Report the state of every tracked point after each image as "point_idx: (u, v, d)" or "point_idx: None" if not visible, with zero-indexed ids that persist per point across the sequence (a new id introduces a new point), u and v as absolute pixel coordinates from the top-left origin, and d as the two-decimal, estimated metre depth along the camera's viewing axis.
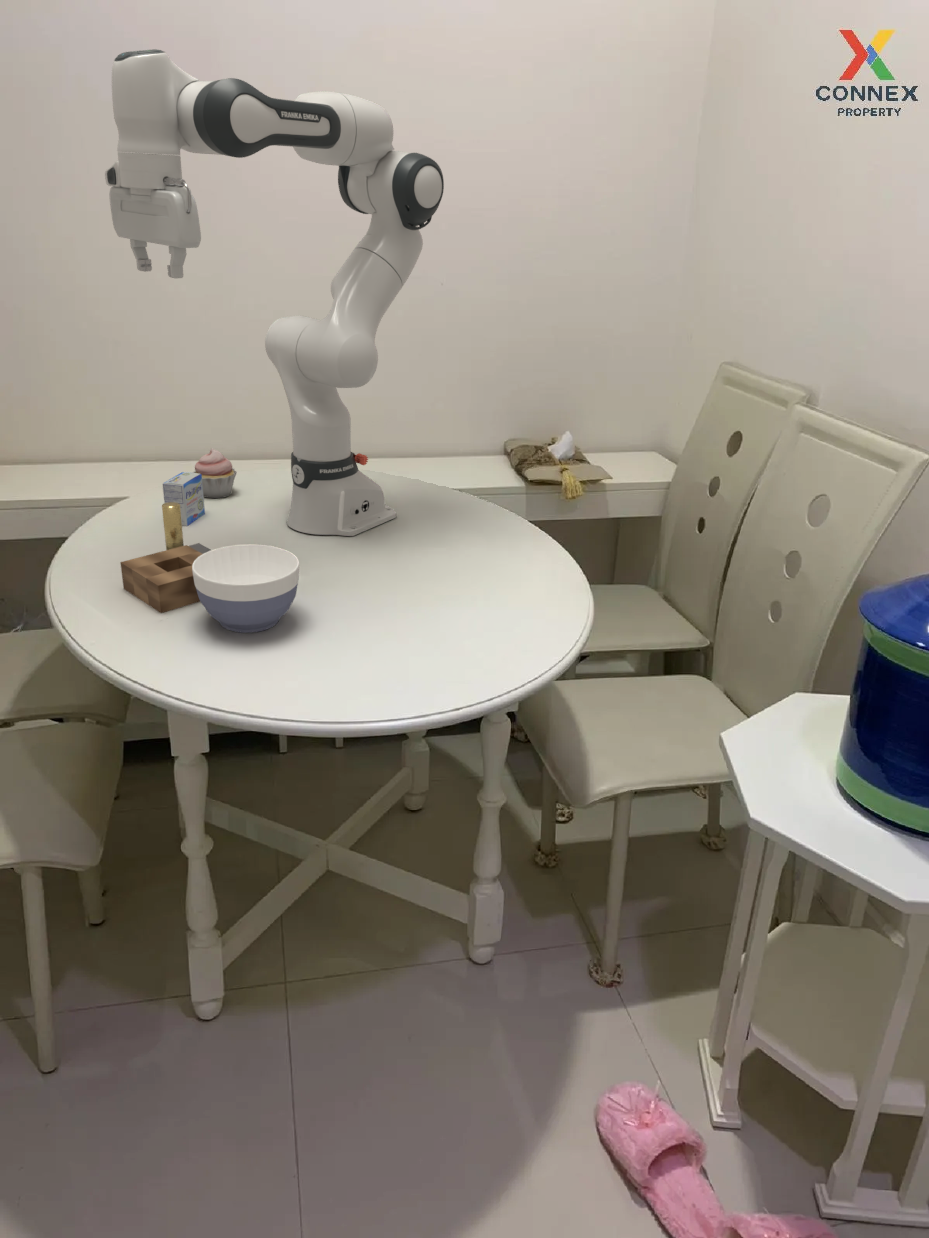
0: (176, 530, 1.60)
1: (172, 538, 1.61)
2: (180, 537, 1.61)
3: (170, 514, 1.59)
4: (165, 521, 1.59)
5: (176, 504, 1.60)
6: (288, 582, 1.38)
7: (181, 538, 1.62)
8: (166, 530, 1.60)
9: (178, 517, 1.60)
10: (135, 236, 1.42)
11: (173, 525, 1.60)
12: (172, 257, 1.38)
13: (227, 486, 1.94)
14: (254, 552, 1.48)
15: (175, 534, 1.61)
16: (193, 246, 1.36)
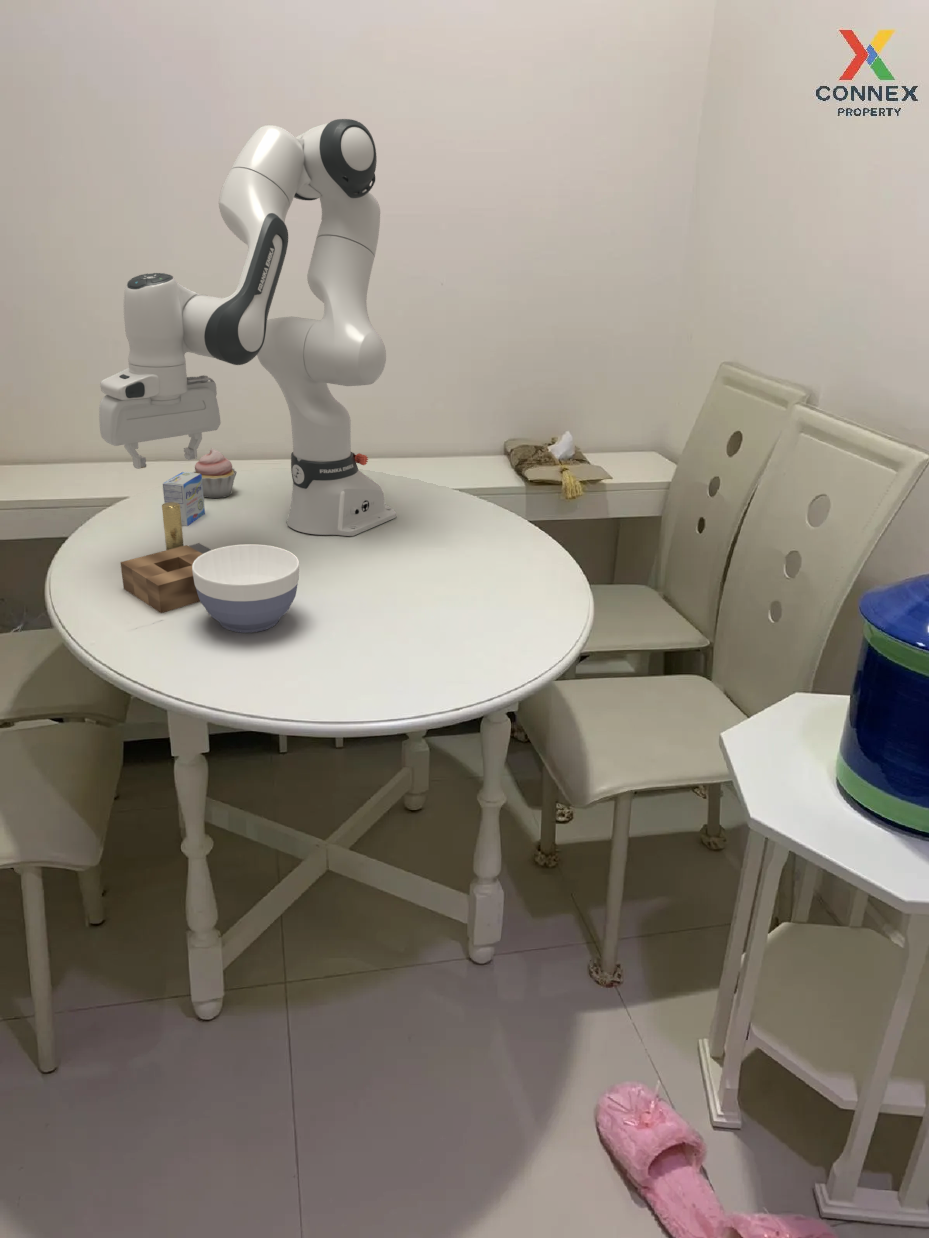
0: (176, 530, 1.60)
1: (172, 538, 1.61)
2: (180, 537, 1.61)
3: (170, 514, 1.59)
4: (165, 521, 1.59)
5: (176, 504, 1.60)
6: (288, 582, 1.38)
7: (181, 538, 1.62)
8: (166, 530, 1.60)
9: (178, 517, 1.60)
10: (150, 437, 1.51)
11: (173, 525, 1.60)
12: (198, 441, 1.58)
13: (227, 486, 1.94)
14: (254, 552, 1.48)
15: (175, 534, 1.61)
16: None
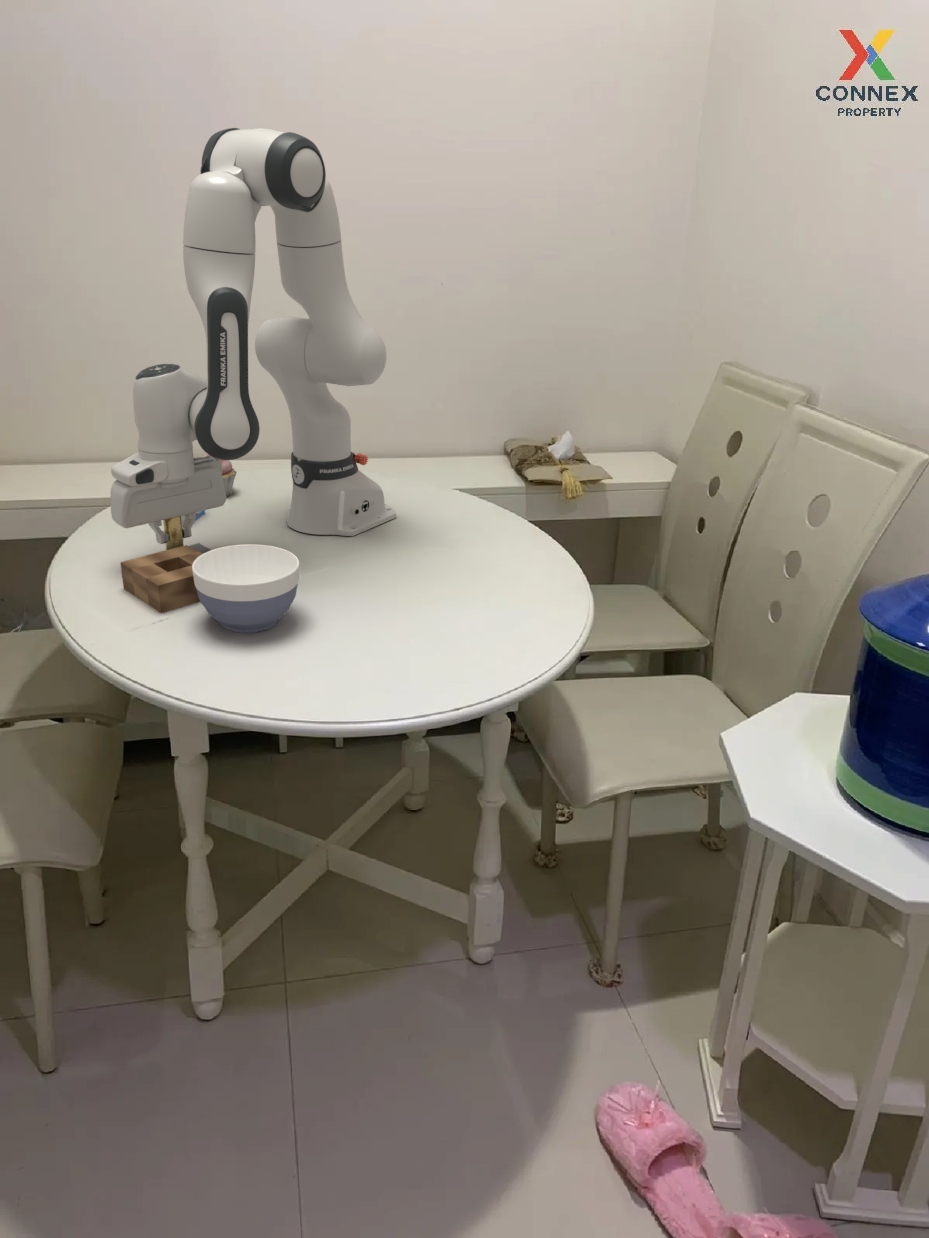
0: (176, 530, 1.60)
1: (172, 538, 1.61)
2: (180, 537, 1.61)
3: None
4: (165, 521, 1.59)
5: None
6: (288, 582, 1.38)
7: (181, 538, 1.62)
8: (166, 530, 1.60)
9: (178, 517, 1.60)
10: (159, 518, 1.57)
11: (173, 525, 1.60)
12: (192, 520, 1.63)
13: (227, 486, 1.94)
14: (254, 552, 1.48)
15: (175, 534, 1.61)
16: None
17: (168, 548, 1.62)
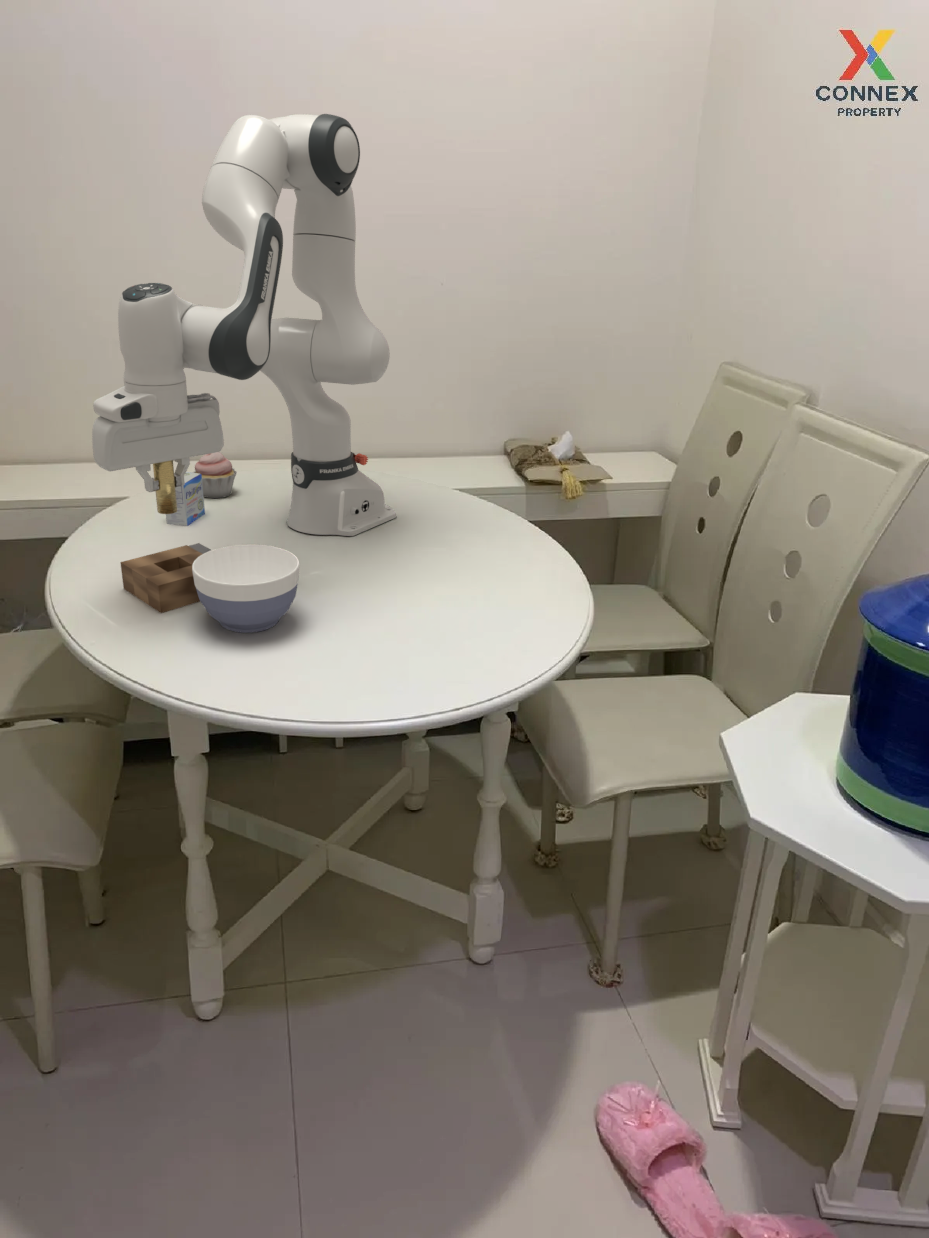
0: (168, 478, 1.42)
1: (162, 487, 1.43)
2: (172, 485, 1.43)
3: None
4: (155, 467, 1.41)
5: None
6: (288, 582, 1.38)
7: (173, 487, 1.44)
8: (156, 477, 1.42)
9: (170, 463, 1.42)
10: (148, 461, 1.39)
11: (164, 471, 1.42)
12: (186, 466, 1.44)
13: (227, 486, 1.94)
14: (254, 552, 1.48)
15: (166, 482, 1.42)
16: None
17: (158, 498, 1.44)
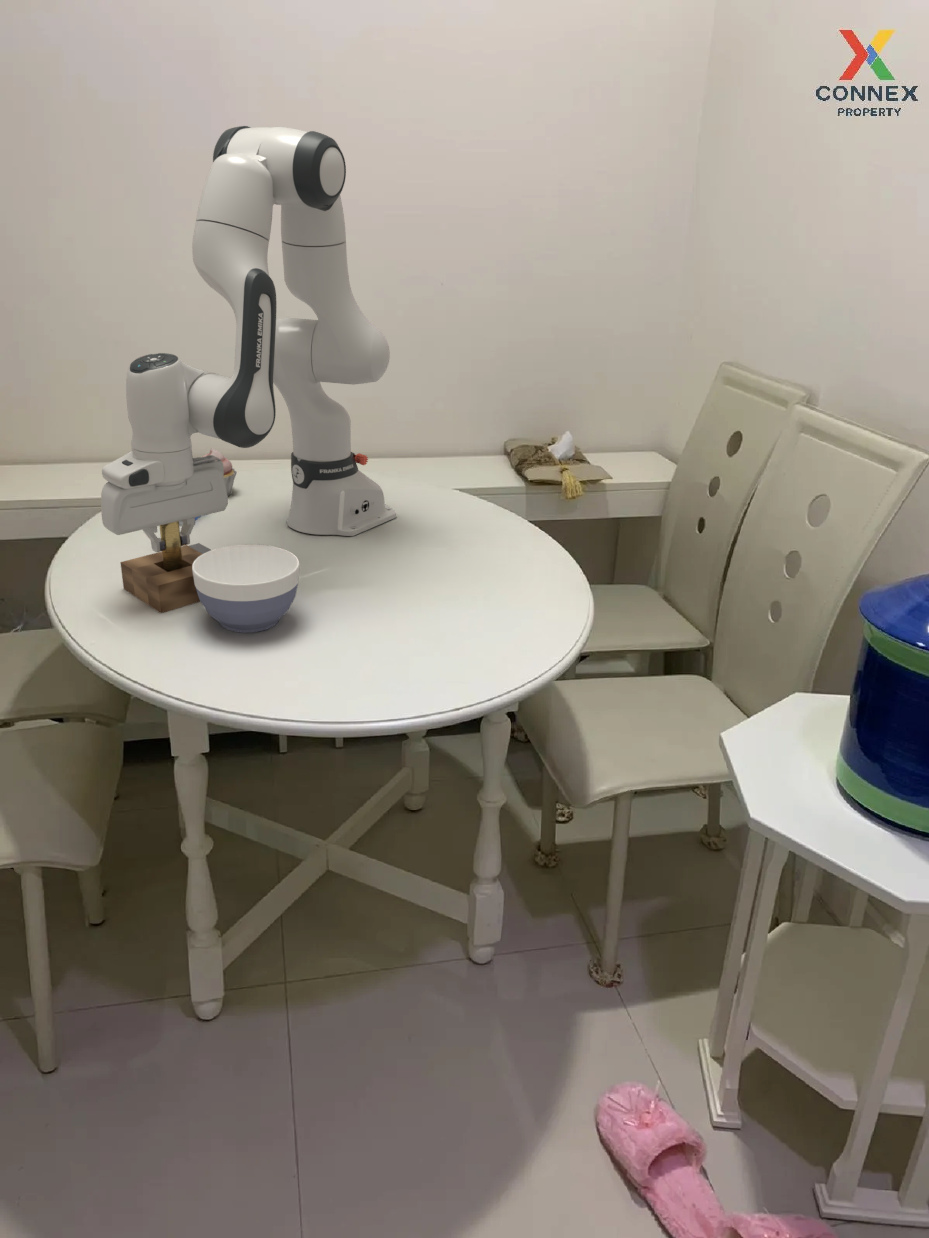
0: (174, 538, 1.47)
1: (169, 547, 1.47)
2: (178, 545, 1.48)
3: None
4: (162, 528, 1.46)
5: None
6: (288, 582, 1.38)
7: (179, 546, 1.48)
8: (163, 538, 1.46)
9: (176, 523, 1.46)
10: (155, 523, 1.43)
11: (171, 532, 1.46)
12: (191, 526, 1.49)
13: (227, 486, 1.94)
14: (254, 552, 1.48)
15: (172, 542, 1.47)
16: None
17: (165, 558, 1.48)
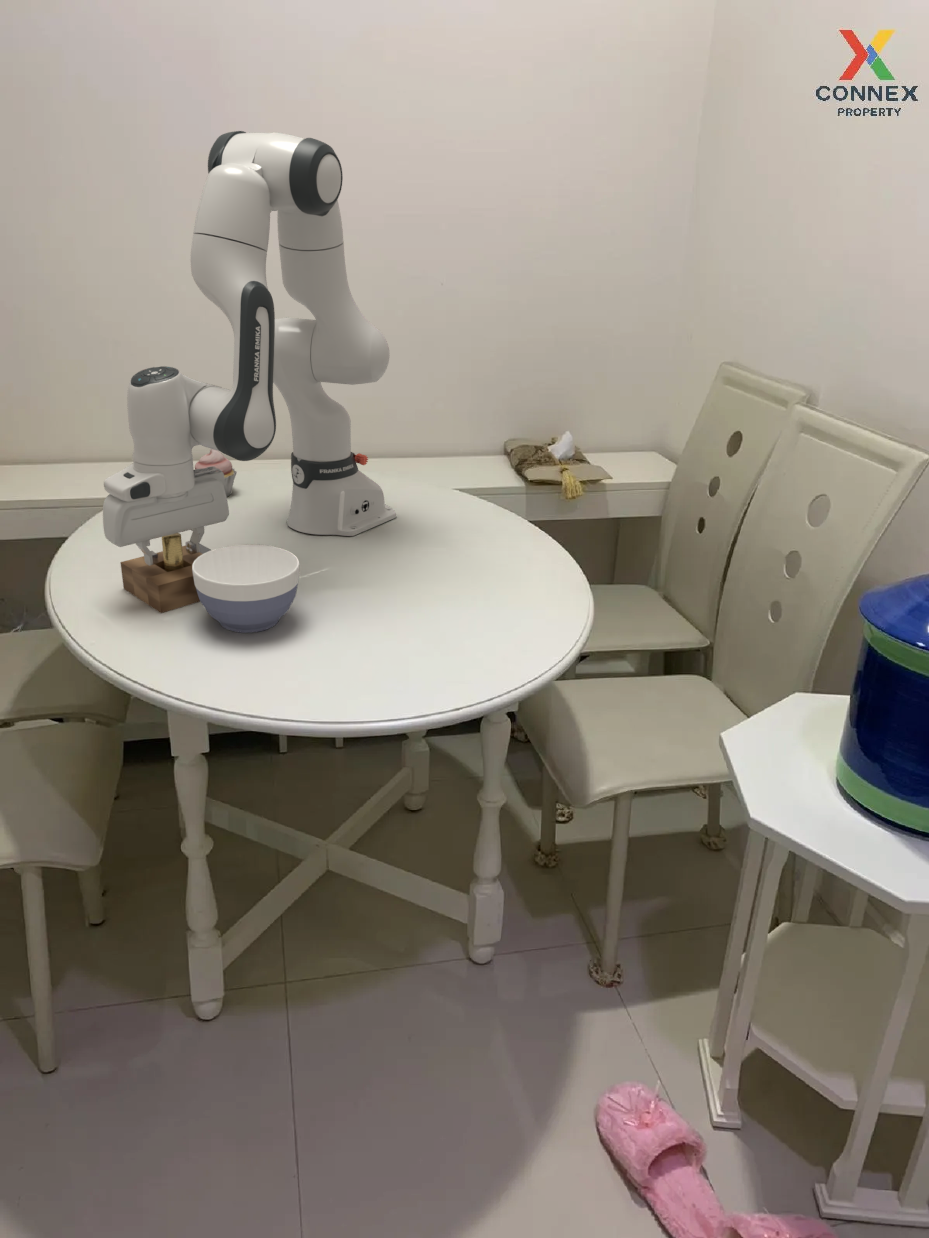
0: (177, 563, 1.49)
1: None
2: None
3: (170, 545, 1.47)
4: (165, 552, 1.48)
5: (177, 534, 1.48)
6: (288, 582, 1.38)
7: None
8: (166, 562, 1.48)
9: (179, 548, 1.48)
10: (156, 535, 1.44)
11: (174, 557, 1.48)
12: (201, 535, 1.51)
13: (227, 486, 1.94)
14: (254, 552, 1.48)
15: (175, 567, 1.49)
16: None
17: None
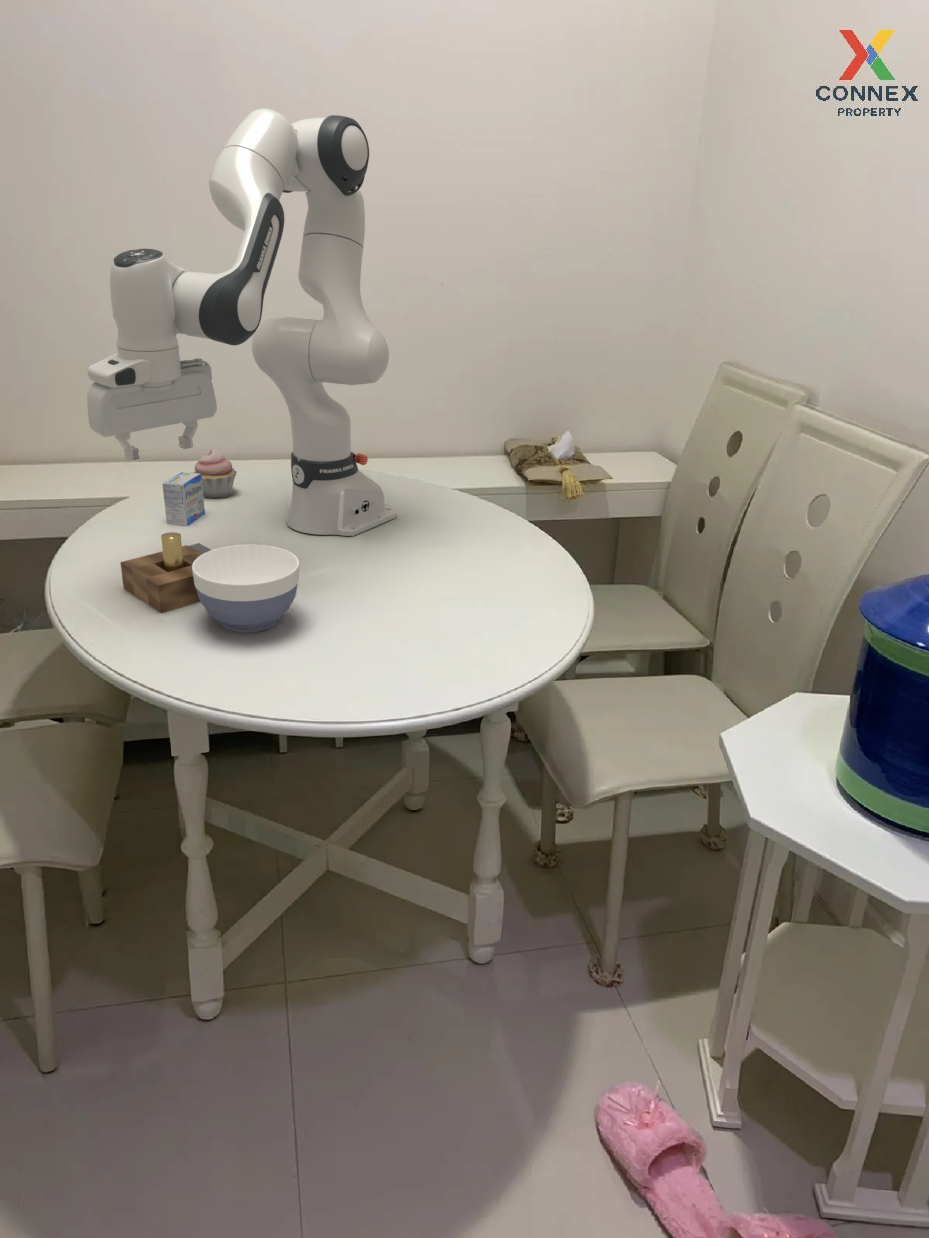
0: (177, 563, 1.49)
1: None
2: None
3: (170, 545, 1.47)
4: (165, 553, 1.48)
5: (177, 534, 1.48)
6: (288, 582, 1.38)
7: None
8: (166, 562, 1.48)
9: (179, 548, 1.48)
10: (143, 426, 1.41)
11: (174, 557, 1.48)
12: (194, 429, 1.48)
13: (227, 486, 1.94)
14: (254, 552, 1.48)
15: (175, 567, 1.49)
16: None
17: None
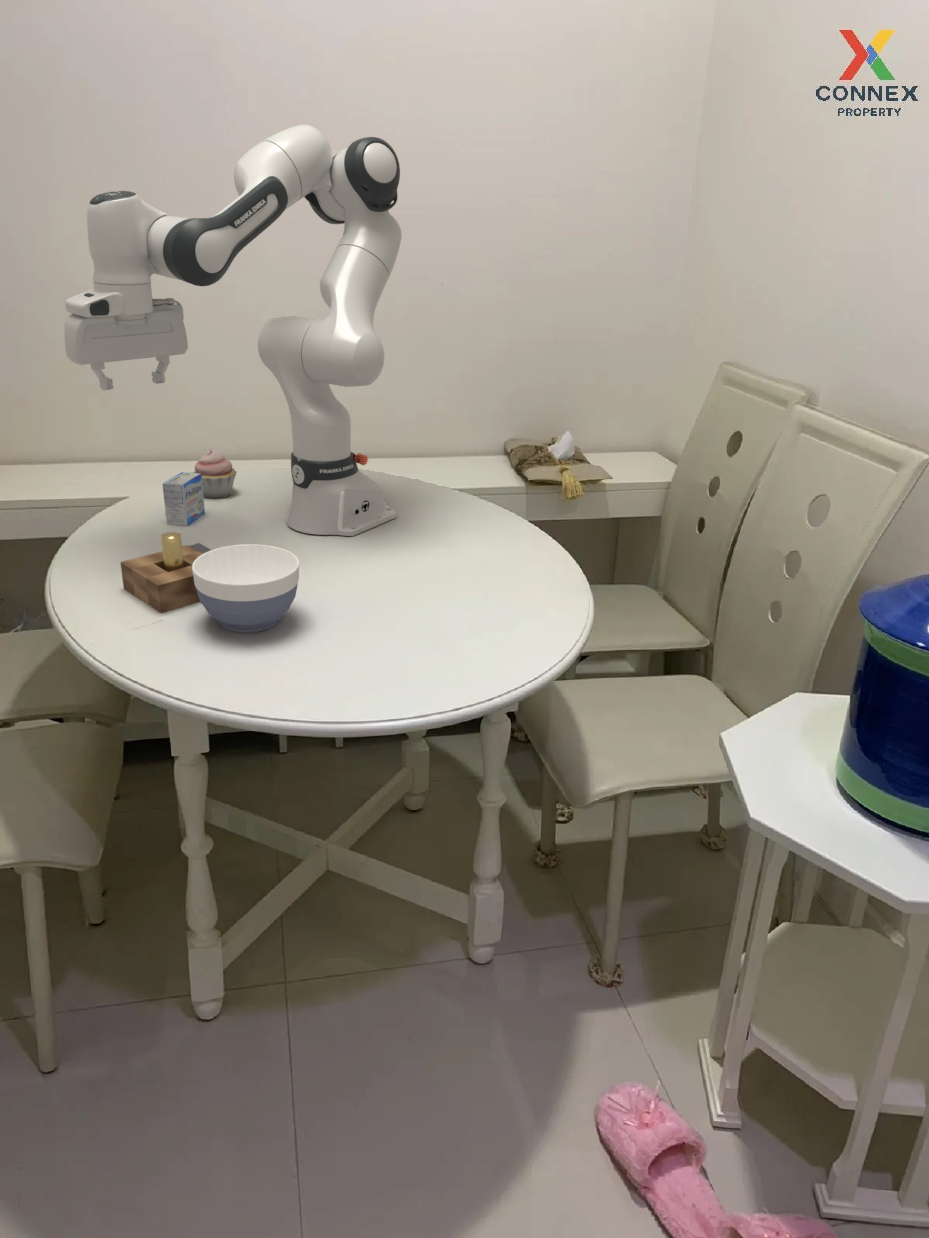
0: (177, 563, 1.49)
1: None
2: None
3: (170, 545, 1.47)
4: (165, 552, 1.48)
5: (177, 534, 1.48)
6: (288, 582, 1.38)
7: None
8: (166, 562, 1.48)
9: (179, 548, 1.48)
10: (116, 358, 1.51)
11: (174, 557, 1.48)
12: (166, 365, 1.59)
13: (227, 486, 1.94)
14: (254, 552, 1.48)
15: (175, 567, 1.49)
16: None
17: None
